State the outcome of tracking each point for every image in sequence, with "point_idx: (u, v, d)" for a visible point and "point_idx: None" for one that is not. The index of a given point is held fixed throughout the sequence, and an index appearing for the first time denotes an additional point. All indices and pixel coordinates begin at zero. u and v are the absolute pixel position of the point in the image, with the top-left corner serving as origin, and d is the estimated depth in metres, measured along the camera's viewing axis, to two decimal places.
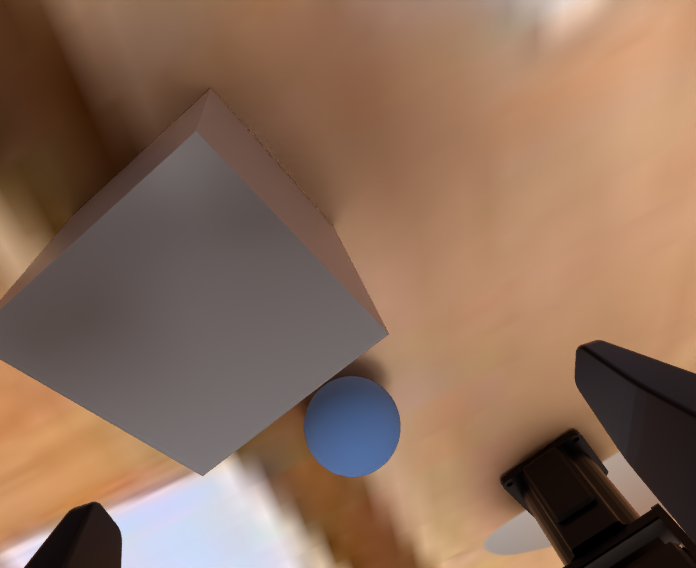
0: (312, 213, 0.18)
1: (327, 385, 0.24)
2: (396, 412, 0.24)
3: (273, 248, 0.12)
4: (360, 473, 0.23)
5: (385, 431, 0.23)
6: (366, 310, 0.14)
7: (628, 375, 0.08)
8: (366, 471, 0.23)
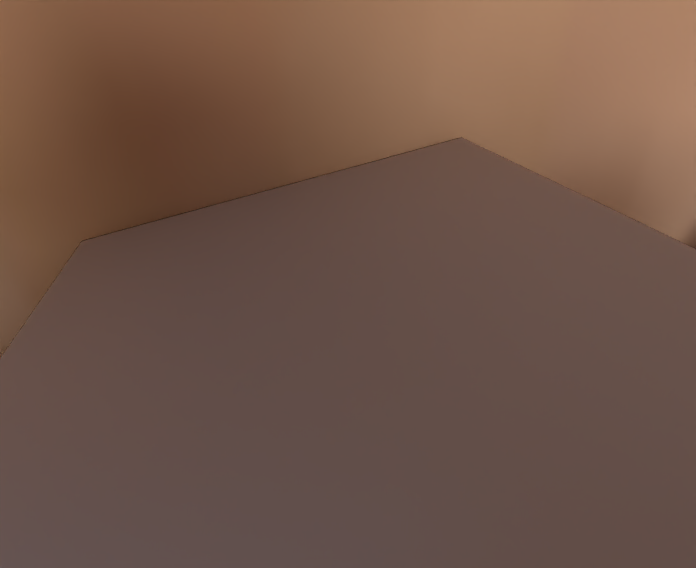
0: (399, 211, 0.07)
1: None
2: None
3: None
4: None
5: None
6: None
7: None
8: None
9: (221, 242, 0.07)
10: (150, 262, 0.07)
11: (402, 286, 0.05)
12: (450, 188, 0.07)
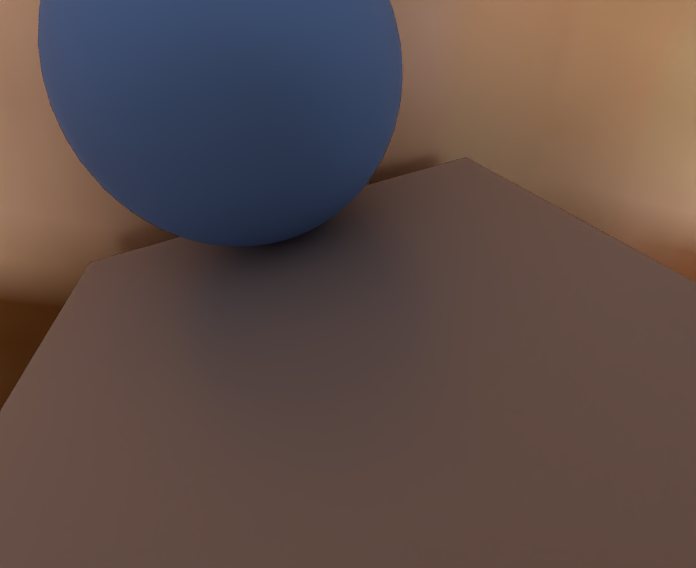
0: (406, 237, 0.07)
1: None
2: None
3: None
4: None
5: None
6: None
7: None
8: None
9: (229, 266, 0.08)
10: (159, 287, 0.07)
11: (411, 319, 0.05)
12: (456, 213, 0.07)
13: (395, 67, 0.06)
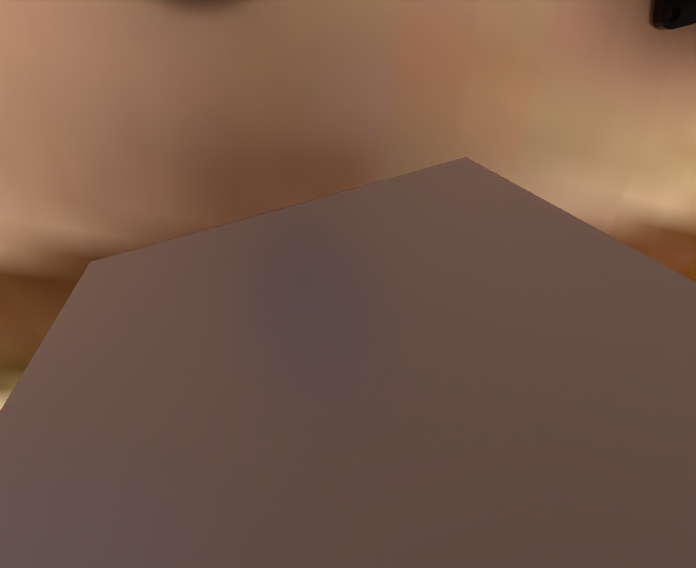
0: (406, 237, 0.07)
1: None
2: None
3: None
4: None
5: None
6: None
7: None
8: None
9: (229, 266, 0.08)
10: (159, 286, 0.07)
11: (411, 319, 0.05)
12: (456, 213, 0.07)
13: None
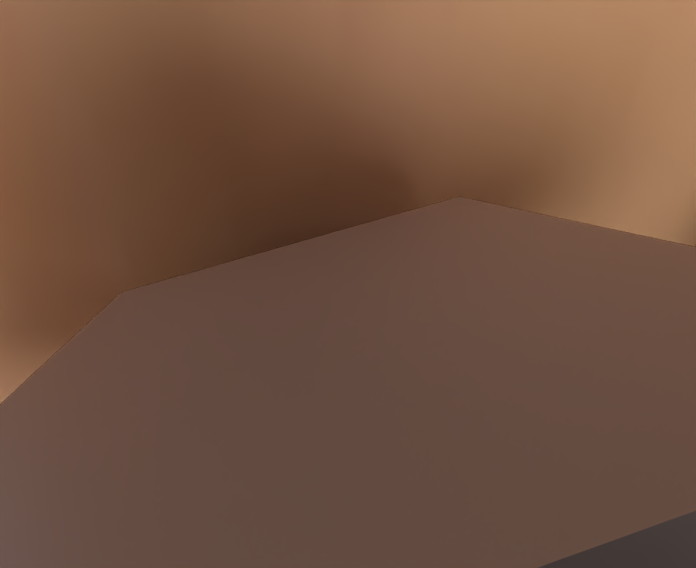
0: (397, 244, 0.08)
1: None
2: None
3: None
4: None
5: None
6: None
7: None
8: None
9: (241, 279, 0.08)
10: (178, 297, 0.08)
11: (393, 286, 0.06)
12: (444, 226, 0.08)
13: None
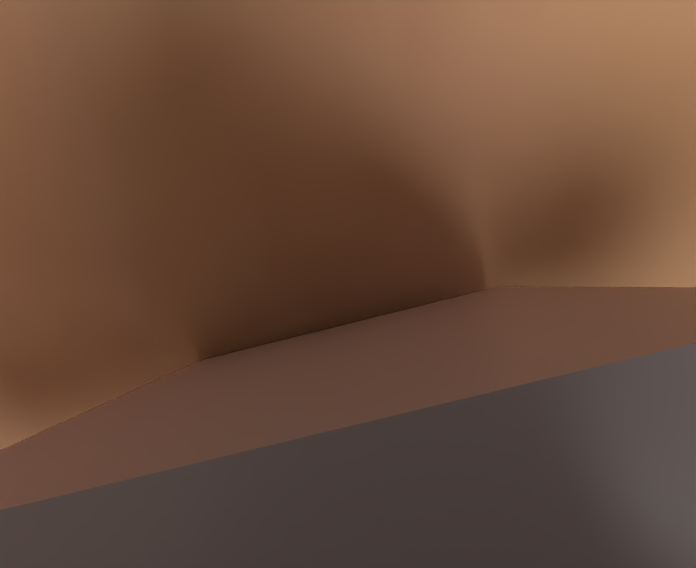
0: (424, 315, 0.09)
1: None
2: None
3: (222, 564, 0.03)
4: None
5: None
6: None
7: None
8: None
9: (291, 344, 0.10)
10: (239, 357, 0.10)
11: (400, 333, 0.07)
12: (469, 302, 0.09)
13: None
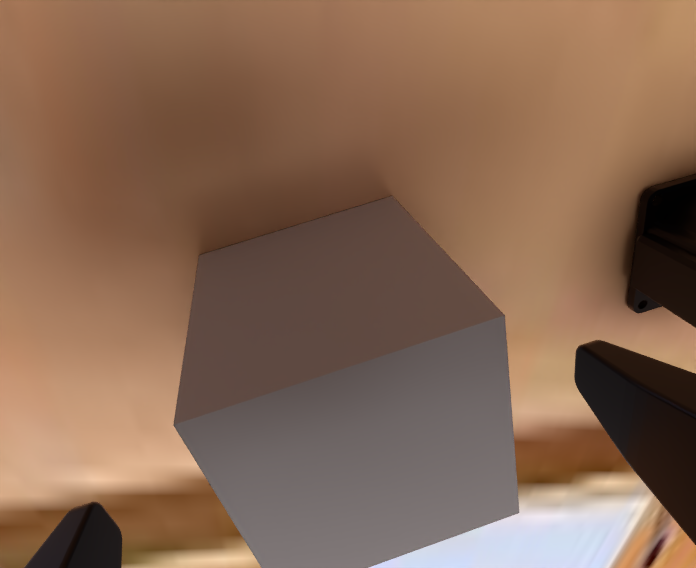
0: (353, 240, 0.16)
1: None
2: None
3: (325, 398, 0.11)
4: None
5: None
6: (457, 330, 0.11)
7: (628, 375, 0.08)
8: None
9: (272, 255, 0.16)
10: (240, 265, 0.16)
11: (348, 272, 0.14)
12: (377, 228, 0.16)
13: None
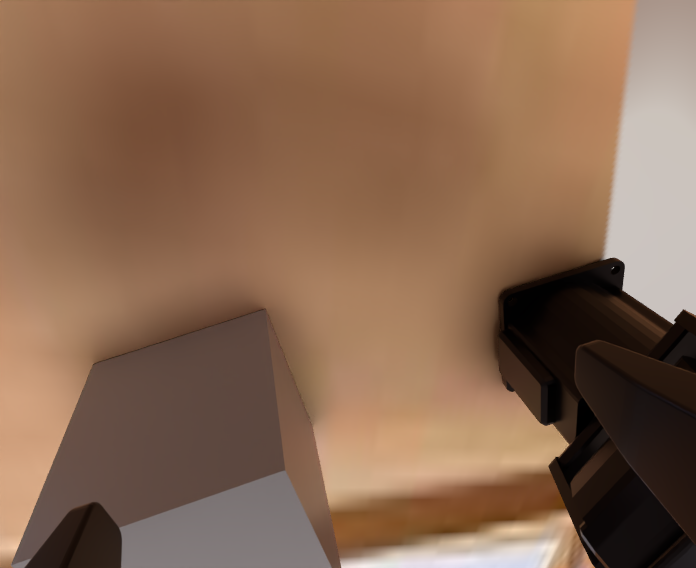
0: (215, 362, 0.18)
1: None
2: None
3: (140, 537, 0.13)
4: None
5: None
6: (246, 482, 0.13)
7: (628, 375, 0.08)
8: None
9: (148, 373, 0.19)
10: (120, 382, 0.19)
11: (196, 403, 0.16)
12: (238, 349, 0.19)
13: None
